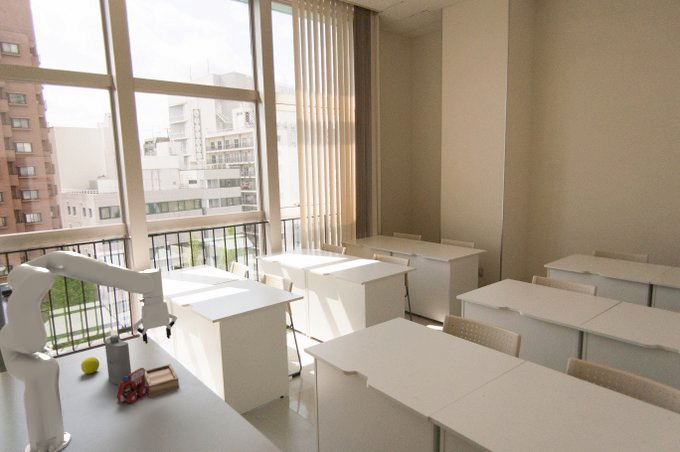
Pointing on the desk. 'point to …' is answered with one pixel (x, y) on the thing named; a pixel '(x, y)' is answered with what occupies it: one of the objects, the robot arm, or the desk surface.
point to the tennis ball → (90, 365)
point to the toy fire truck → (132, 386)
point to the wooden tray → (161, 379)
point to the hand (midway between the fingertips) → (157, 339)
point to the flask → (117, 359)
